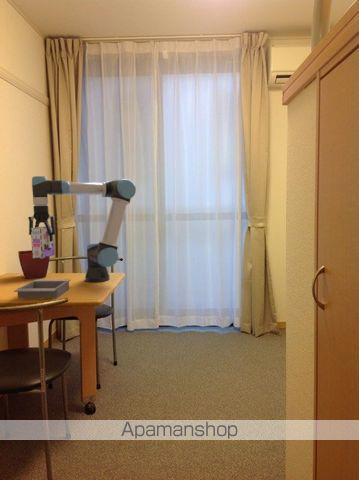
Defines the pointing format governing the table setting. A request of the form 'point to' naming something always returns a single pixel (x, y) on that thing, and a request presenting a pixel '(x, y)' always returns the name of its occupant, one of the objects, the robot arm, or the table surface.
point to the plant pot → (33, 265)
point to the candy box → (41, 243)
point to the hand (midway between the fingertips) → (43, 247)
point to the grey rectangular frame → (44, 288)
